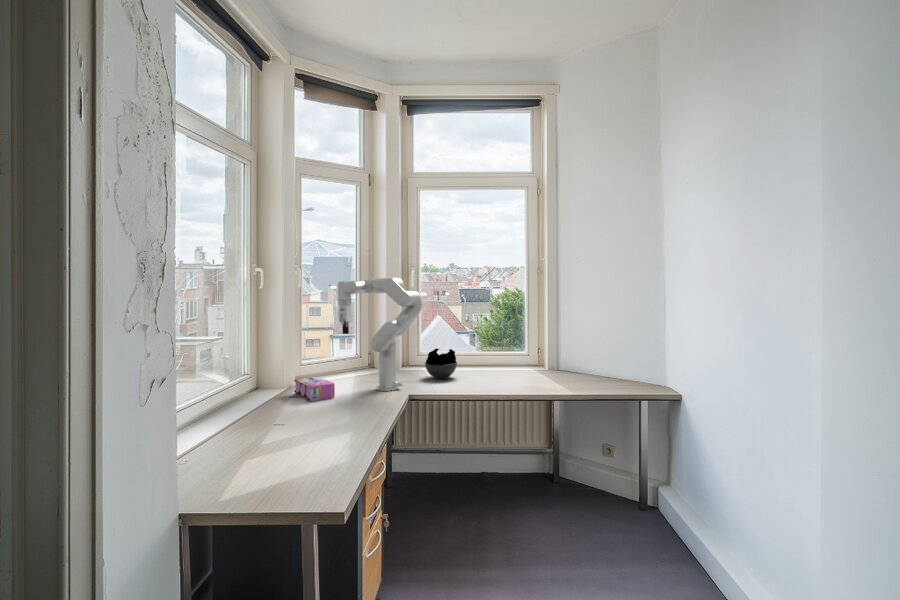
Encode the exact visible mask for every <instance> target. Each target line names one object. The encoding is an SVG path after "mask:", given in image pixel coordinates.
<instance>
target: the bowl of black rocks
mask: <svg viewBox="0 0 900 600" xmlns="http://www.w3.org/2000/svg"><path fill="white" fill-rule="evenodd" d="M439 350H440V348H434V349H433V350H431V351H429V352H428V353H427V358H426V360H425V362H424V367H425V369H426V372H427V373H428V374H429V376H431V377H433V378H434V379H435V378H436V379H440V380H442V379H447V378H449V377H450V376H452V375H453V374H454V373H455V372H456V369H457V366H458V361H457V356H456V354H455V353H456V351H455V350H453V349H452V348H450V349H448V352H446V353H440V354H438V353H437V352H438V351H439Z"/></svg>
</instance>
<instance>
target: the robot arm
mask: <svg viewBox="0 0 900 600" xmlns="http://www.w3.org/2000/svg"><path fill="white" fill-rule="evenodd" d="M404 285H405V284H404V282H403V280H402V279H401V278H399V277H383V278H382V277H381V278H375V279H371V280H369V279H367V280H350V281H349V280H347V281H346V280H345V281H343V280H342V281H338V283H337V301H338V302H337V303H338V304H337V305H338V306H339V307H338V308H339V309H338V320H339V322H340V324H341V327H342V335H349V333H350V330H349V328H350V325H349V324H350V322H352V321H353V309H352V295H357V294H373V293H374V294H386V295H387V296H388V297H390V298H391V300H392V301H393V302H395V303H396V305H398V306H400V307H403V309H402V310H401V312H399V313H398V315H397V317H395V318H394V319H392V320H388V321H387V322H385V323H384V324H383V325H382V326H380V328H379V330H378V331H377V332H376V333H375V334H374V336H373V337H372V339H371V341H370V347H371V349H372V351H374V352H376V353H378V385H376V390H377V391H380V392H381V391H383V392H391V390H392V391H395V390H398V389H399V387H403V386H404V383H403V382H399V381H398V379H396V377H397V375H396V369H397V368H396V351H397V338H398V337H401V336H403V335H404V334H405V333H406V331H407V330H408V329H409V327H410V326H411V325H412V323H413V322H414V321H415V319H416V318H417V317H418V315H420V313H421V311H422V308H423V299H422V296H421V295H420V293H419V292H418V291H414V290H405V289H404Z"/></svg>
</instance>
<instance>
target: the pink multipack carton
mask: <svg viewBox="0 0 900 600" xmlns="http://www.w3.org/2000/svg"><path fill="white" fill-rule="evenodd" d="M293 381H294V382H295V385H294V386H295V388H294V394H295V393H296V394H297V395H300V396H302V397H304V398H303V399H305V400H308V401H309V402H313V401H321V400H327V399H328V400H329V399H334V398H335V396H336V395H335V394H336V393H335V390H336V388H335V385H336V384H335V383H334V382H332V381H329V380H328V379H325V378H322V377H321V376H319V375H317V376H311V377H305V378H297V379H294V380H293Z"/></svg>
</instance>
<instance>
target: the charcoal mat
mask: <svg viewBox="0 0 900 600" xmlns="http://www.w3.org/2000/svg"><path fill="white" fill-rule="evenodd" d="M288 398H289V399H290V398H291V399H305V398H304V397H302V396H300V395H297V394H296V393H295V392H294V393H293V394H291V395H289V396H288Z"/></svg>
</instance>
